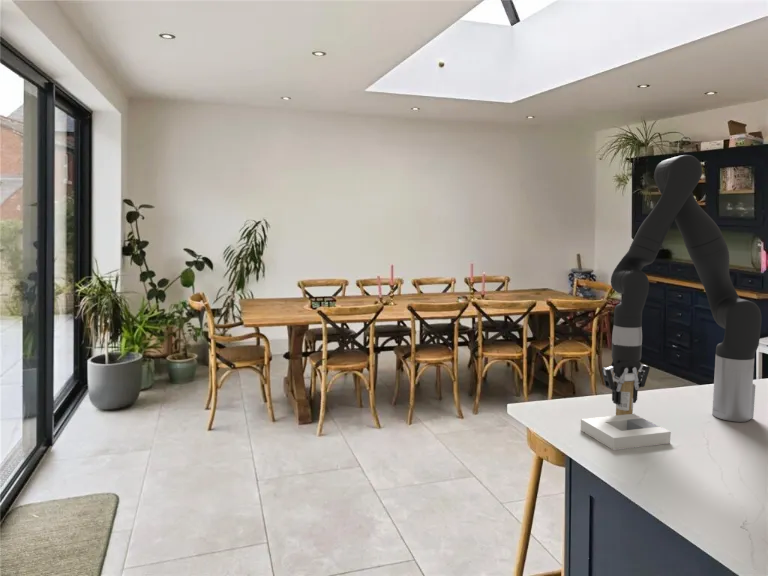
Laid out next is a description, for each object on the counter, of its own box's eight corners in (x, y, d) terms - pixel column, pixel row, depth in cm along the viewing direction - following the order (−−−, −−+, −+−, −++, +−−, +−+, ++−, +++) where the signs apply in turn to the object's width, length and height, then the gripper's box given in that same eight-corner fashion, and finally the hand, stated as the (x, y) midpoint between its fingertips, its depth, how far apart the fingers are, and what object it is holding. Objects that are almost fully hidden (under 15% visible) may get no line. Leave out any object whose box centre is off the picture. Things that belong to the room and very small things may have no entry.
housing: (633, 424, 160) (633, 413, 160) (670, 443, 147) (670, 431, 146) (580, 430, 156) (580, 419, 156) (613, 450, 143) (614, 438, 142)
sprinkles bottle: (636, 420, 163) (638, 372, 162) (626, 423, 161) (628, 375, 159) (621, 415, 167) (623, 369, 165) (611, 418, 165) (613, 371, 163)
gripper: (640, 337, 167) (637, 397, 169) (595, 340, 163) (593, 401, 165) (658, 343, 159) (655, 405, 161) (612, 346, 156) (610, 409, 158)
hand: (624, 402), depth 163 cm, fingers closed on sprinkles bottle, 4 cm apart
